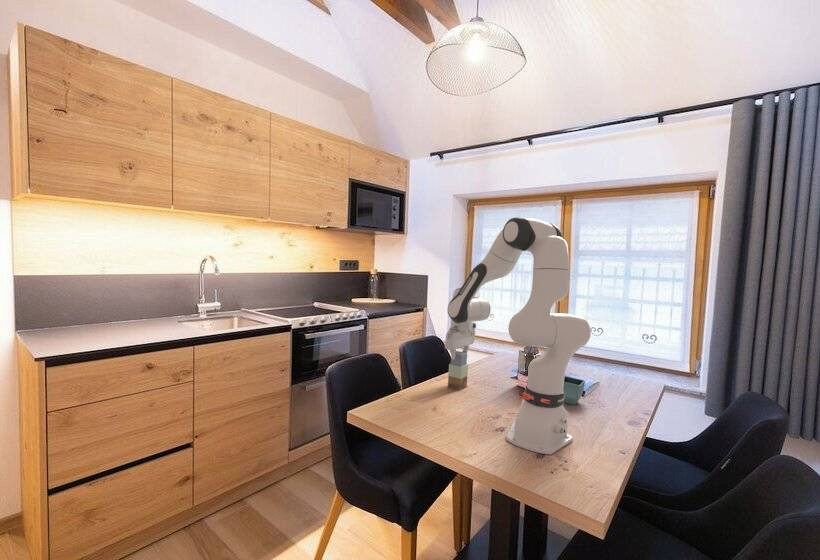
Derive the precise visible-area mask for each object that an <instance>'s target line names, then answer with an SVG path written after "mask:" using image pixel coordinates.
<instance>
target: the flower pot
mask: <svg viewBox="0 0 820 560" xmlns="http://www.w3.org/2000/svg"><path fill="white" fill-rule="evenodd" d="M585 384H586V380H584V379H580V378H576V377H571V376H566V375H565V377H564V386H563V391H564V396H565V398H564V404H565V403H566V404H568V405H572V404H573V405H574V406H575V405H576V404H577V403H578V402H579V400H580V399H581V398H582V395H583V393H584V390H585V389H584V388H585Z"/></svg>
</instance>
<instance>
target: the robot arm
mask: <svg viewBox="0 0 820 560" xmlns="http://www.w3.org/2000/svg"><path fill="white" fill-rule="evenodd" d="M494 239H495V240H494V241H493V242H492V244H491V246H490V249H489V250H488V252H487V253H486V255H485V256H484V258H483V259H482V260H481V261H480V262H479V263H478V264H477V265H476V266H475V267H474V268H472V269H471V272H470V273H469V275H468V276H467V278H466V279H465V281H464V283H463V284H462V286H461V287H459V288H458V287H457V288H456V289H455V290H454V291H453V294H452V299H451V300H450V301H449V303H448V306H447V314H448V317H449V318H450V328H449V329H448V330H447V332H446V334H445V340H444V341H445V342H444V348H445V350H447V351H449V354H450V355H451V356H450V360H451V359H456V357H457V355H456V354H455V352H456V351H457V350H458V349H460V348H462V351H461V352H464V353H467V354H468V351H469V348H470V345H474V343H475V338H476V328H477V323H476V322H481V321H486V320H487V319H488V318H489V316H490V314H491V305H490V302H489V301H488V300H487V299H486V298H483V297H481V296H480V295H478V294H477V293H478V291H479V290H480V289H481V288H482V286H484V285H485V284H487V283H489V282H491V281H495V280H497V279H501V278H504V277H506V276H509V274H510V273H512V271H513V270H514V268H515V267H516V265H517V262H518V261H519V258H520V257H521V255H522V253H523V252H530V253H531V254H532V257H533V262H532V263H533V264H532V281H531V283H532V284H531V291H530V294H529V295H530V296H529V298H528V300H527V302H526V303H525V305H524V306H523V307H522V309H521V310H519V311H518V312H516V313H515V314H513V316H512V317H511V318H510V320H509V322H508V334H509V337H510V339H511V340H512V341H513V342H514V343H515V344H518V345H521V346H526V347H534V348H535V347H536V348H537V347H538V348H546V349H545V350H544V352H543V353H541V354H542V355H541V356H539V357H537V358H535V359H533V360H532V361H531V362H530V364H529V366H528V380H527V386H526V389H524V392H523V393H522V400H521V404H520V406H519V409H518V411H517V414H516V418H515V419H514V420H513V422H512V424H511V426H510V427H509V430H508V432H507V433H506V438H505V440H506V442H507V441H508V442H509V443H510V444H512V445H515V446H517V447H519V448H522V449H524V450H528V451H531V452H534V453H537V454H542V455H543V454H545V455H552V454H554V453H556V452H557V451H559V450H561V449H562V448H563V447H565V446H566V445H568V444H570V443H572V442H573V436H572V435H571V434H569V433H568V431H569V430H568V428H569V413H568V411H567V410H566V408H565V407H564V404H565V402H564V398H565V396H564V391H563V386H564V377H565V376H566V371H567V367H568V365H569V362H570V360H572V357H573V356H574V355H575V353H577V351H579V350H580V349H581V348H584V347H585V346H586V345H587V344H588V343H589V341H590V339H591V334H592V331H591V326H590V324H589V322H588V320H587V319H586V318H585V317H582V316H578V315H574V314H570V313H554V312H553V313H551V310H552V308H553V306H554V305H555V303H558V302H561V301H563V300H564V299H565V298H566V297H567V295H568V294H569V292H570V290H569V289H570V255H569V248H568V243H567V241H566V240H565V239H563V232H562V230H561V229H560V228H559V227H558V226H556V224H553V223H551V222H546V221H542V220H540V219H536V218H527V217H524V216H516V217H511V218H510V219H508V220H507V222H506V223H505V224H504V227H503V228H502V230H500V232H499V233H498V235H497V236H496V237H495V238H494Z"/></svg>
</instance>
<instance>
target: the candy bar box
mask: <svg viewBox="0 0 820 560" xmlns="http://www.w3.org/2000/svg"><path fill="white" fill-rule="evenodd" d="M537 353H538V352H537ZM542 354H543V353H540V352H539V353H538V354H536V355H535V357H534V359H535V358H537V357H539V356H541V355H542ZM517 362H518V363H517V373H516V374H517V375H516V377H517V376H518V373H519V372H521V371H523V370H524V367H525V353H524V349H519V350H518V361H517Z"/></svg>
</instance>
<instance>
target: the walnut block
mask: <svg viewBox="0 0 820 560" xmlns="http://www.w3.org/2000/svg"><path fill="white" fill-rule="evenodd" d="M467 387H468V375H467V376H466V377H464V378H462V379H459V378H455V377H451V376H448V379H447V388H449V389H454V390H457V391H462V390H464V389H466V388H467Z"/></svg>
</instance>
